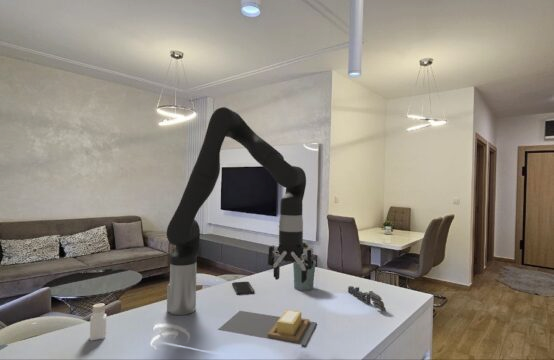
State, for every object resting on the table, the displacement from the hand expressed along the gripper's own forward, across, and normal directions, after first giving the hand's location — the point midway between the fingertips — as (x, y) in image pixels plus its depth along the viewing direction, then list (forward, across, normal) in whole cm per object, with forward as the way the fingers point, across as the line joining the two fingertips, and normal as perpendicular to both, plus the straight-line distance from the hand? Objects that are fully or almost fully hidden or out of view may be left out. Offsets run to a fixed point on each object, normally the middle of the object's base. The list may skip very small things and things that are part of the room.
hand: (290, 280), depth 101 cm
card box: (+15, 0, 0) cm, 15 cm away
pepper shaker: (+16, +52, +24) cm, 59 cm away
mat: (+16, +7, 0) cm, 17 cm away
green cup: (+16, +6, -43) cm, 46 cm away
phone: (+16, +31, -32) cm, 47 cm away
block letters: (+16, -21, -34) cm, 43 cm away
